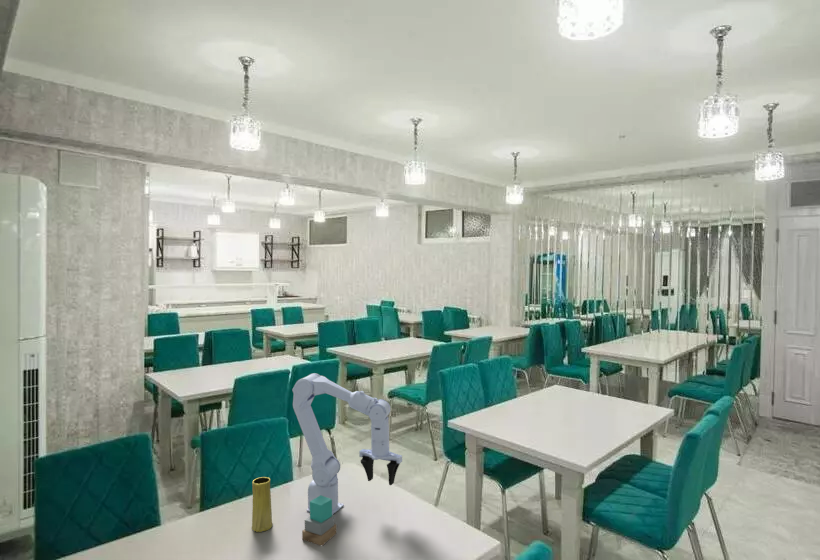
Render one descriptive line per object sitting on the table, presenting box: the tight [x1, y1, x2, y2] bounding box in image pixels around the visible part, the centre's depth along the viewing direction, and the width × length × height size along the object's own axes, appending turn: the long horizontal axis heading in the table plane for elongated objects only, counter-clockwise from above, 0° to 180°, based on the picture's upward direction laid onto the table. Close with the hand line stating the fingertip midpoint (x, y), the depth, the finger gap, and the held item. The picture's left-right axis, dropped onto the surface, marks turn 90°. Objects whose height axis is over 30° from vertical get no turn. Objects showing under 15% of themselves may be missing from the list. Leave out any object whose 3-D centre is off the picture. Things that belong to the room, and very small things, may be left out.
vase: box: [251, 476, 273, 533], centre depth 142 cm, size 6×6×14 cm
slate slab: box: [304, 514, 335, 535], centre depth 136 cm, size 6×6×3 cm
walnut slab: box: [301, 523, 337, 546], centre depth 136 cm, size 7×7×3 cm
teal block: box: [309, 495, 332, 523], centre depth 136 cm, size 4×4×5 cm
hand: (380, 481), depth 148 cm, fingers open, 7 cm apart
